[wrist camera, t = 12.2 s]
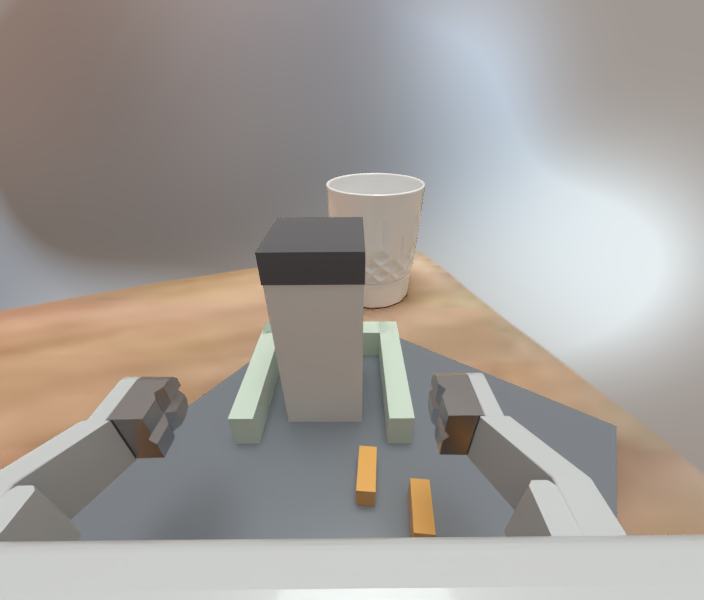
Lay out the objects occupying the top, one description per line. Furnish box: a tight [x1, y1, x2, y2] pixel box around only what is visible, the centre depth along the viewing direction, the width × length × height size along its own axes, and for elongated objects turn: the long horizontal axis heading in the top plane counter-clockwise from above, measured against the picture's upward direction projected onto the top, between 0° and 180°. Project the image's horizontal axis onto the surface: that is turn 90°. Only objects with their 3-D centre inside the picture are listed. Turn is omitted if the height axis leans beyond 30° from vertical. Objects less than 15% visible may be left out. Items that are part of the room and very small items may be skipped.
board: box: [71, 338, 617, 541], centre depth 15 cm, size 20×20×2 cm
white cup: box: [326, 173, 425, 308], centre depth 28 cm, size 8×8×10 cm
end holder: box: [228, 322, 415, 444], centre depth 19 cm, size 8×9×2 cm
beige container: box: [255, 217, 365, 422], centre depth 16 cm, size 4×4×10 cm
